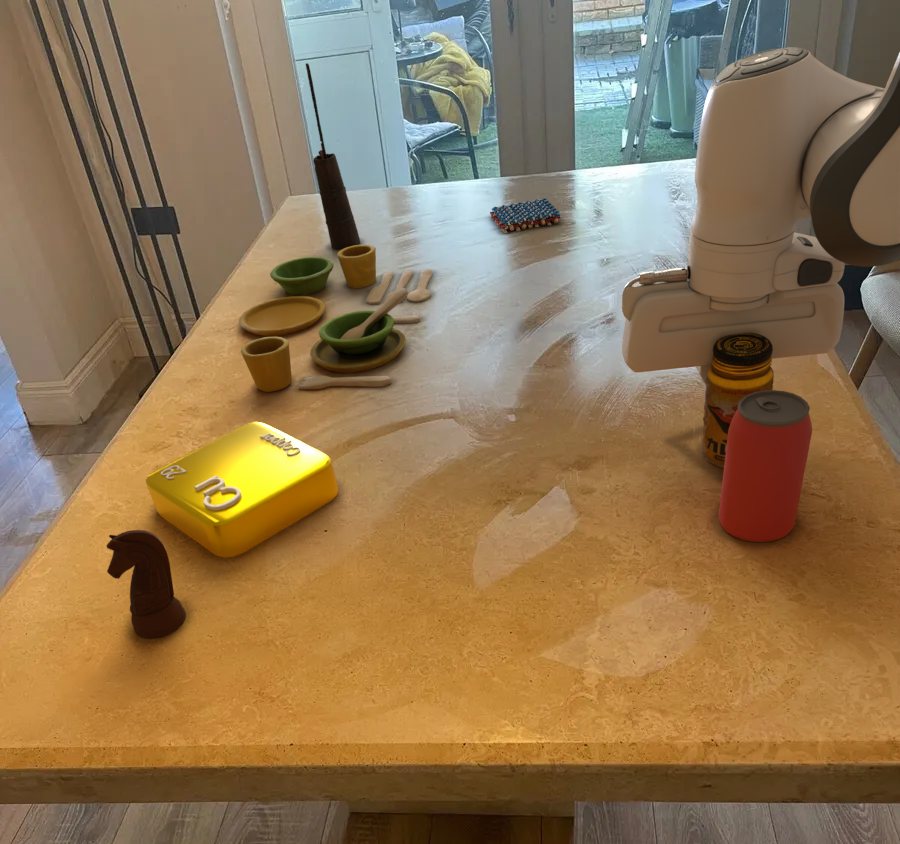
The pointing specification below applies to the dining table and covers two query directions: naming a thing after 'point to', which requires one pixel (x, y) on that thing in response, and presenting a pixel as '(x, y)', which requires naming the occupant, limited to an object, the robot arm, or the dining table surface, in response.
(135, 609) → the chess piece
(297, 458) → the element tile
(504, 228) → the woven mat
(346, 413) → the dining table surface
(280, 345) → the tableware set
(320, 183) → the butter churn
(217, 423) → the dining table surface
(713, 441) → the condiment
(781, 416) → the beer can
